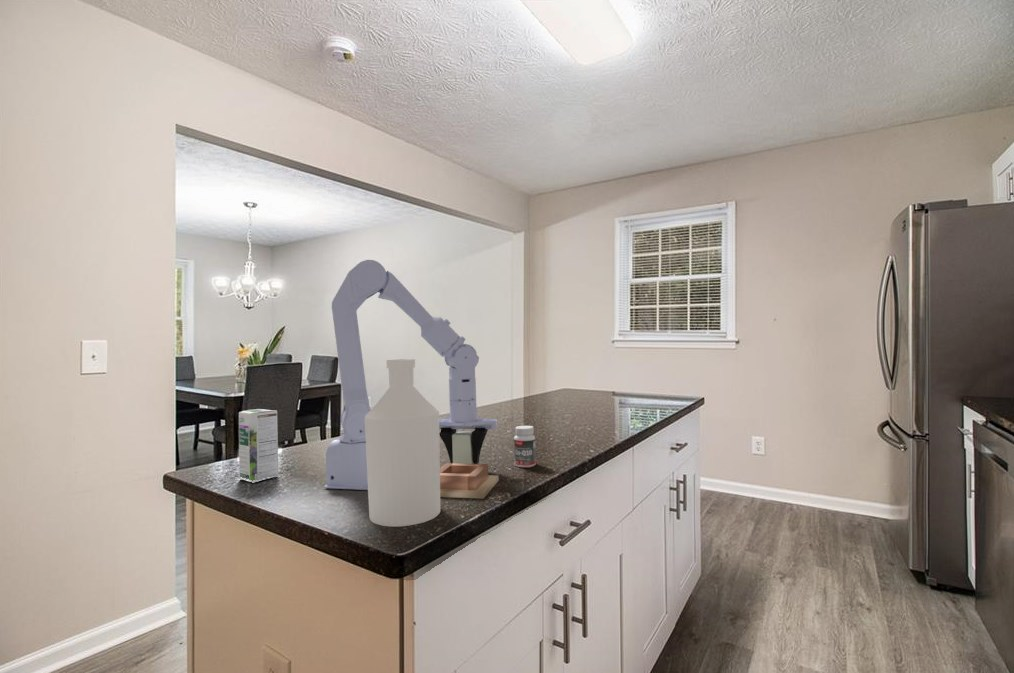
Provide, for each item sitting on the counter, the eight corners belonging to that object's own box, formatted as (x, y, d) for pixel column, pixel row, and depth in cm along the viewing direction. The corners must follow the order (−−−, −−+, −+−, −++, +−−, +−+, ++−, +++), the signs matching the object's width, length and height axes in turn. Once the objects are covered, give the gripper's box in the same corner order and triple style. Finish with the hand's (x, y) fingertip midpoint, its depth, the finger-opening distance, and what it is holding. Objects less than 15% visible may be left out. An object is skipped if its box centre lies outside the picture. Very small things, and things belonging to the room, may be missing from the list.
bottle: (410, 497, 88) (406, 358, 88) (457, 509, 80) (452, 358, 81) (352, 516, 79) (348, 361, 79) (398, 533, 71) (393, 361, 71)
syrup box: (238, 480, 103) (236, 411, 103) (265, 473, 107) (263, 407, 108) (252, 484, 99) (250, 413, 99) (280, 477, 104) (278, 409, 104)
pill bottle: (513, 467, 106) (511, 429, 106) (516, 462, 111) (515, 425, 111) (534, 467, 105) (533, 429, 105) (537, 462, 110) (535, 425, 110)
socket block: (419, 495, 88) (419, 476, 88) (441, 478, 99) (440, 461, 99) (483, 498, 86) (482, 478, 86) (498, 480, 96) (498, 462, 96)
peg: (453, 473, 103) (452, 435, 103) (459, 468, 107) (458, 431, 107) (471, 473, 102) (470, 435, 102) (476, 468, 106) (475, 431, 106)
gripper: (424, 402, 102) (426, 467, 102) (492, 401, 100) (494, 468, 100) (434, 398, 109) (436, 459, 109) (498, 397, 107) (500, 459, 107)
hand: (464, 463), depth 105 cm, fingers open, 4 cm apart
